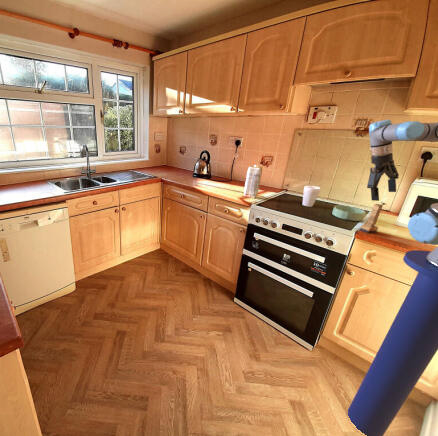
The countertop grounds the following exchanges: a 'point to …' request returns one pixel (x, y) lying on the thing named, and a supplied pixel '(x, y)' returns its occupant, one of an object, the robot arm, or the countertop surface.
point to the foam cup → (310, 195)
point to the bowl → (348, 213)
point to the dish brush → (372, 220)
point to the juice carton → (252, 181)
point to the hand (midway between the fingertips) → (384, 196)
